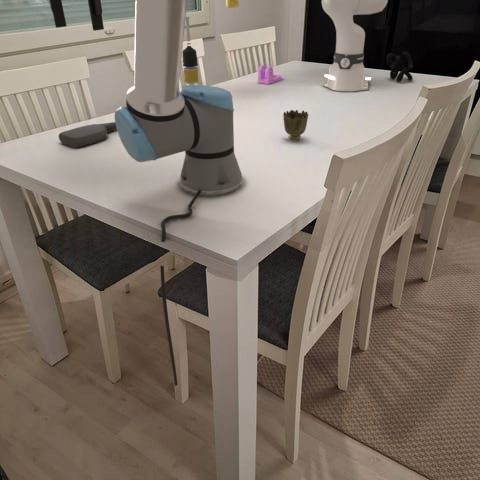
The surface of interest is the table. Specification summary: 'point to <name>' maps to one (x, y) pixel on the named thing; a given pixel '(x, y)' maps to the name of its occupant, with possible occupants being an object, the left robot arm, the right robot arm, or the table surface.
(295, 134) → the cup
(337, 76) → the right robot arm
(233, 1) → the tin
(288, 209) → the table surface
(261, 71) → the bracket
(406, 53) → the squiggle
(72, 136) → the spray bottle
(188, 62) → the long nozzle bottle
